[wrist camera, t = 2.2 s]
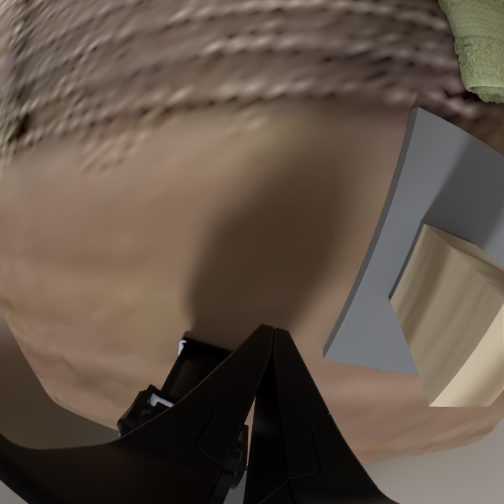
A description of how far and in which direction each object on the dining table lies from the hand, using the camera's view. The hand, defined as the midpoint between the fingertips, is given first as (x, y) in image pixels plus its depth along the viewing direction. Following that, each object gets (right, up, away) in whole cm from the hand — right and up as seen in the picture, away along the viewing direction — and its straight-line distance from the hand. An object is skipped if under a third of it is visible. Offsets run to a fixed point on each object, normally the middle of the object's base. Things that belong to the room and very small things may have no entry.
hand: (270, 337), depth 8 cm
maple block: (+12, +1, +9) cm, 15 cm away
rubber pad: (+18, 0, +10) cm, 21 cm away
